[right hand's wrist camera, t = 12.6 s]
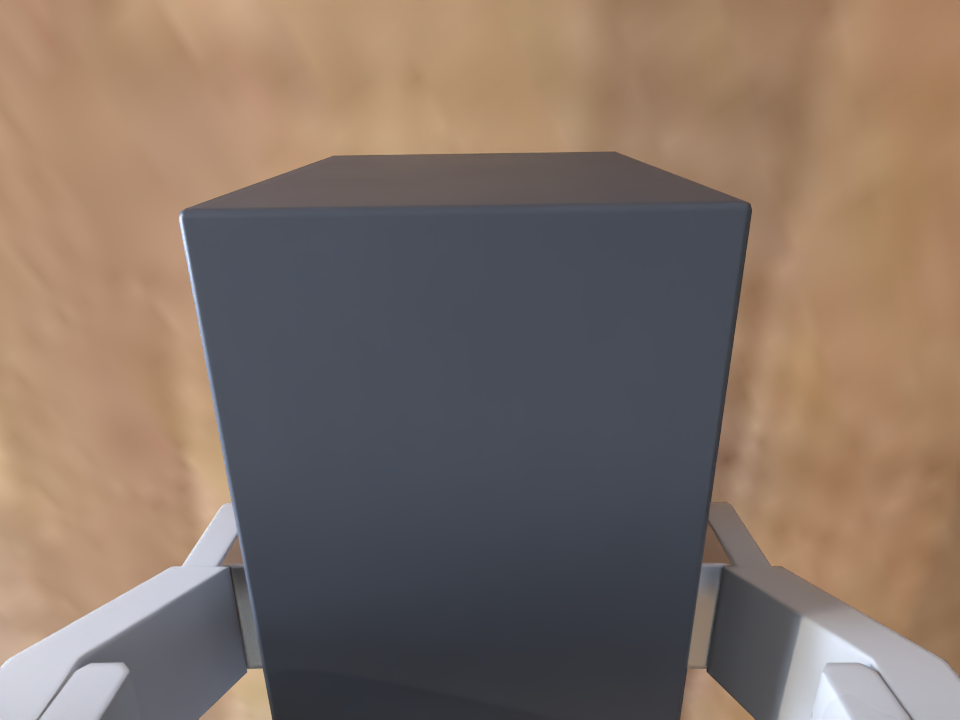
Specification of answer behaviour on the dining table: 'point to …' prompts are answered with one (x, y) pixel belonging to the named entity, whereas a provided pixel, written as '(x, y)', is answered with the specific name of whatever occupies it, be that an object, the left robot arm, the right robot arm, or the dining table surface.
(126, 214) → the dining table surface
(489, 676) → the beam
